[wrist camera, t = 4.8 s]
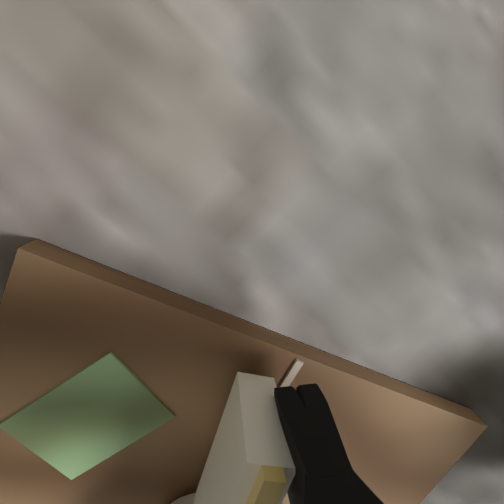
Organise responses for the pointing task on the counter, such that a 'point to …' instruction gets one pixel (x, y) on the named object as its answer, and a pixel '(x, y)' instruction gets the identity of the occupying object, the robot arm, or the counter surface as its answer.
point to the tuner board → (176, 392)
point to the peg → (247, 450)
